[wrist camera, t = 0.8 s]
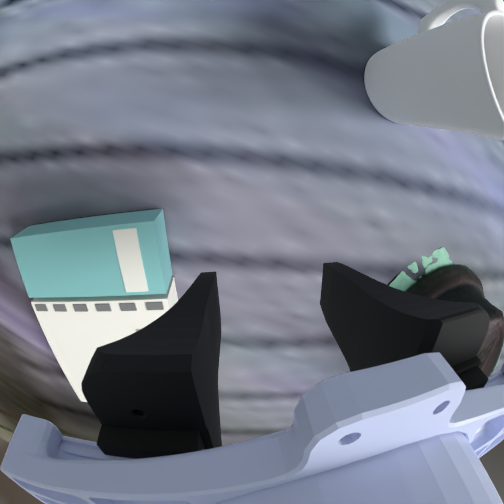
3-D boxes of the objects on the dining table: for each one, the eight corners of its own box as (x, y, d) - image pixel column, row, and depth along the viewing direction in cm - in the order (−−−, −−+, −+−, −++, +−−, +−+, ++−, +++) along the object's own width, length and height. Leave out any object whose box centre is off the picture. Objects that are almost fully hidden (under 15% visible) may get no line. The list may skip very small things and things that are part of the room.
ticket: (195, 382, 27) (194, 408, 24) (89, 379, 26) (80, 401, 23) (173, 276, 22) (167, 299, 19) (47, 282, 21) (30, 302, 18)
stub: (172, 273, 22) (166, 294, 19) (44, 280, 21) (28, 298, 18) (163, 208, 20) (153, 221, 17) (29, 225, 19) (9, 239, 16)
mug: (423, 139, 19) (543, 166, 8) (353, 111, 18) (477, 109, 7) (435, 36, 16) (541, 17, 5) (369, 2, 15) (468, -55, 4)
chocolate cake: (476, 344, 31) (510, 384, 23) (359, 408, 32) (383, 464, 24) (491, 219, 23) (552, 253, 15) (336, 291, 24) (384, 365, 16)
